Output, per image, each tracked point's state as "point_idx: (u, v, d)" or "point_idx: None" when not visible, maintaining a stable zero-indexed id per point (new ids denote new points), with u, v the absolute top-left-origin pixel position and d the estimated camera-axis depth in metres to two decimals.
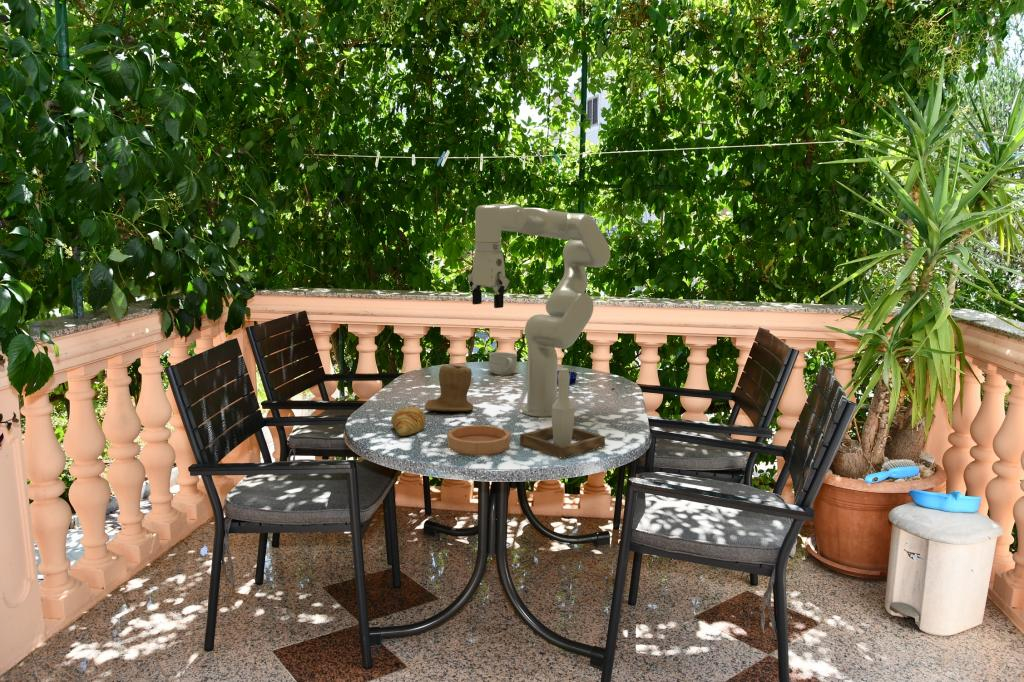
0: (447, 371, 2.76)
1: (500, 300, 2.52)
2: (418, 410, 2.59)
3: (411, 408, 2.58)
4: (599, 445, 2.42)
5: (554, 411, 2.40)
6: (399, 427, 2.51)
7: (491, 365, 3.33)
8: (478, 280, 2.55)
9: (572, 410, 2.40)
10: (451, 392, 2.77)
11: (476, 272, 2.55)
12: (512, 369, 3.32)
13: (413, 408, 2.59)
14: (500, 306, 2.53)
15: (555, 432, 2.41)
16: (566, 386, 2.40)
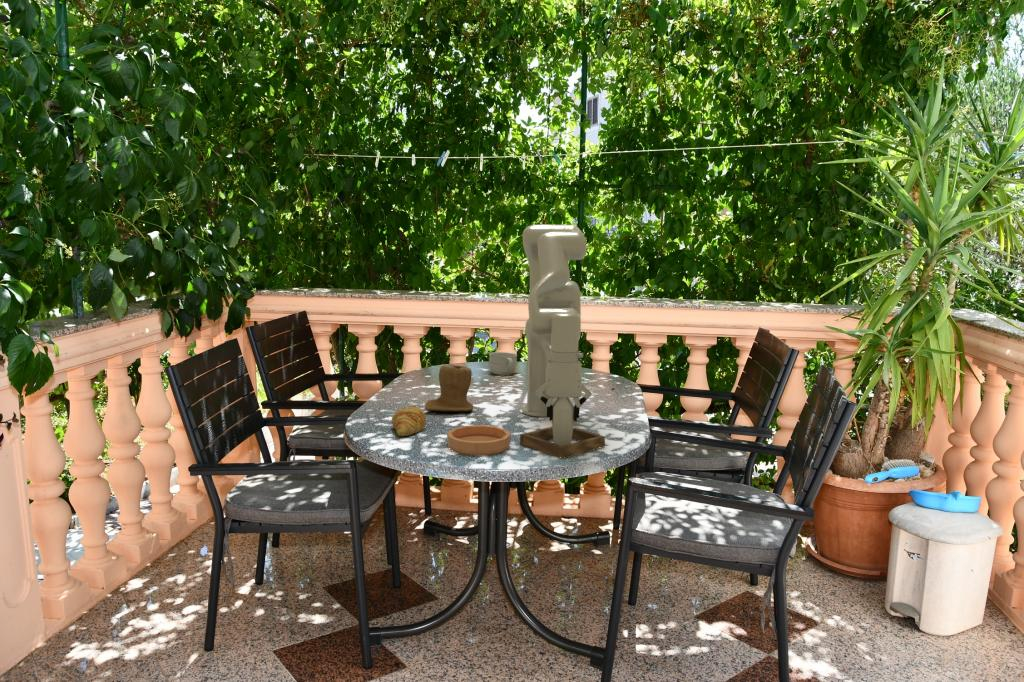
0: (447, 371, 2.76)
1: None
2: (418, 410, 2.58)
3: (411, 408, 2.58)
4: (599, 445, 2.42)
5: (554, 411, 2.40)
6: (398, 427, 2.51)
7: (491, 365, 3.33)
8: (557, 392, 2.39)
9: (572, 410, 2.40)
10: (451, 392, 2.77)
11: (554, 384, 2.39)
12: (512, 369, 3.32)
13: (413, 408, 2.58)
14: None
15: (555, 432, 2.41)
16: None
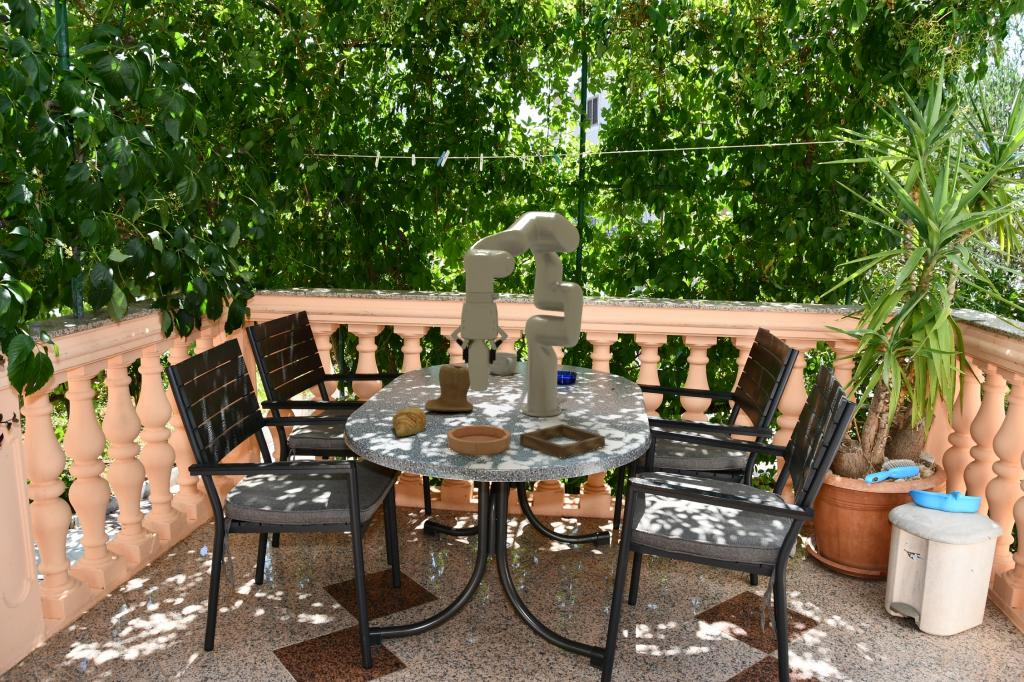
0: (447, 371, 2.76)
1: (495, 355, 2.38)
2: (419, 411, 2.58)
3: (412, 409, 2.58)
4: (599, 445, 2.42)
5: (469, 353, 2.36)
6: (397, 428, 2.51)
7: (491, 365, 3.33)
8: (472, 334, 2.35)
9: (487, 352, 2.36)
10: (451, 392, 2.77)
11: (469, 325, 2.35)
12: (512, 369, 3.32)
13: (414, 409, 2.58)
14: None
15: (471, 375, 2.37)
16: None
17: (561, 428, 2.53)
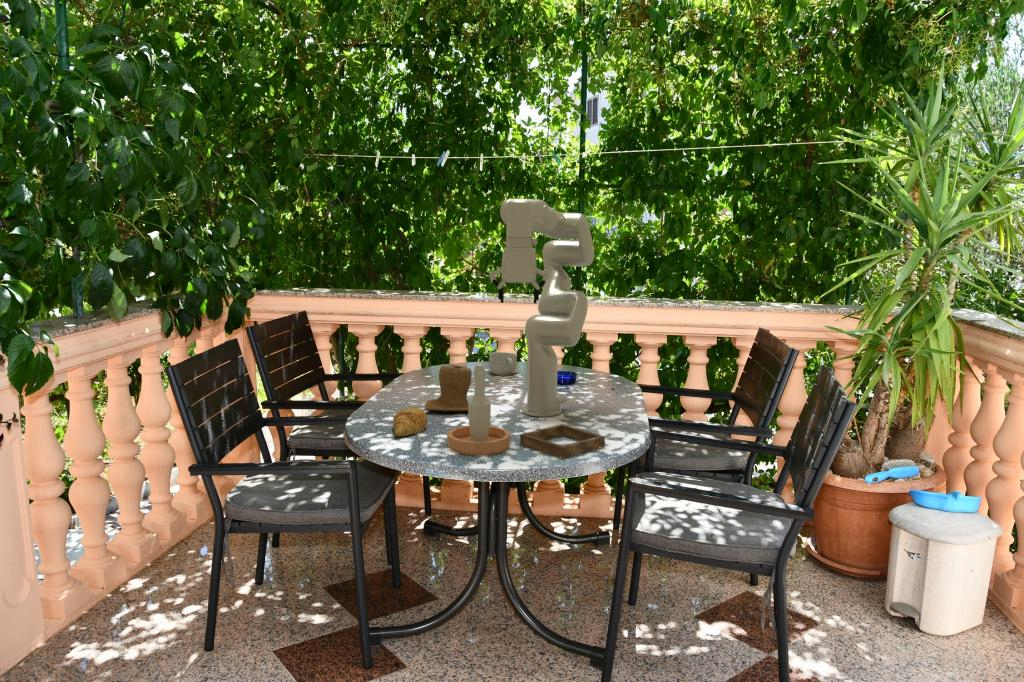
0: (447, 371, 2.76)
1: (538, 295, 2.52)
2: (419, 411, 2.58)
3: (412, 409, 2.58)
4: (599, 445, 2.42)
5: (470, 407, 2.39)
6: (396, 427, 2.51)
7: (491, 365, 3.33)
8: (512, 277, 2.49)
9: (487, 406, 2.39)
10: (451, 392, 2.77)
11: (510, 269, 2.49)
12: (512, 369, 3.32)
13: (414, 409, 2.58)
14: None
15: (471, 428, 2.40)
16: (481, 382, 2.39)
17: (561, 428, 2.53)
